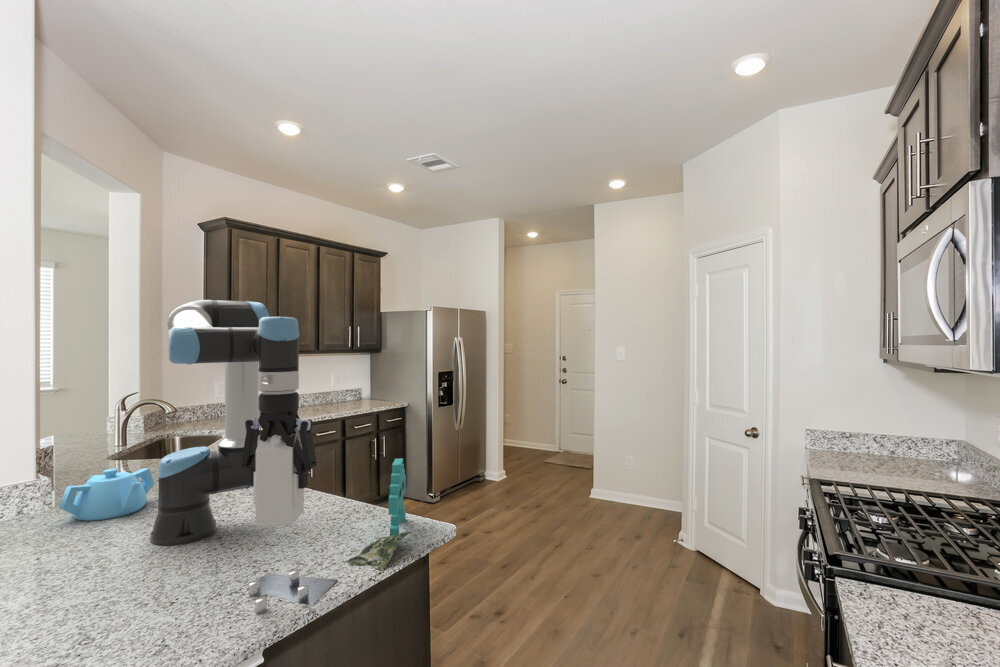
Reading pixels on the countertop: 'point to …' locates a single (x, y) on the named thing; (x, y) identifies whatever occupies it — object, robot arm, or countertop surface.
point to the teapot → (108, 495)
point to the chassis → (289, 588)
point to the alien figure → (397, 496)
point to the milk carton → (275, 483)
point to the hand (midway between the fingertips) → (278, 502)
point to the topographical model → (378, 552)
